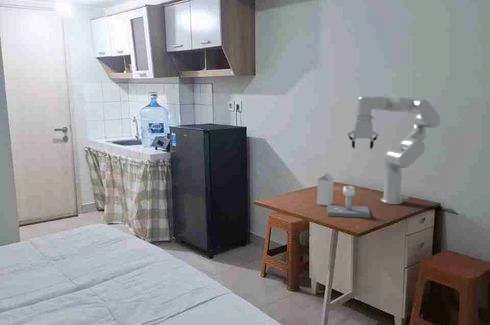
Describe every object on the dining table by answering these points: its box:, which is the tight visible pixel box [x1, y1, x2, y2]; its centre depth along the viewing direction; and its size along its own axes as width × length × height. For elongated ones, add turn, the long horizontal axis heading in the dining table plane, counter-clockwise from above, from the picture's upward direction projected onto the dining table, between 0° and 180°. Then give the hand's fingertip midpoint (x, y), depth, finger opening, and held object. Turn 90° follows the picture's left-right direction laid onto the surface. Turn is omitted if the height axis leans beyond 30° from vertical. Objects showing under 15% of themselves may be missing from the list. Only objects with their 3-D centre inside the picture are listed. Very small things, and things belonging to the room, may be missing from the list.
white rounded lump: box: [342, 185, 356, 197], centre depth 232 cm, size 6×6×5 cm
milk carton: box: [316, 171, 334, 207], centre depth 250 cm, size 7×7×19 cm
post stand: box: [326, 195, 372, 219], centre depth 233 cm, size 22×15×10 cm
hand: (362, 148), depth 245 cm, fingers open, 9 cm apart
